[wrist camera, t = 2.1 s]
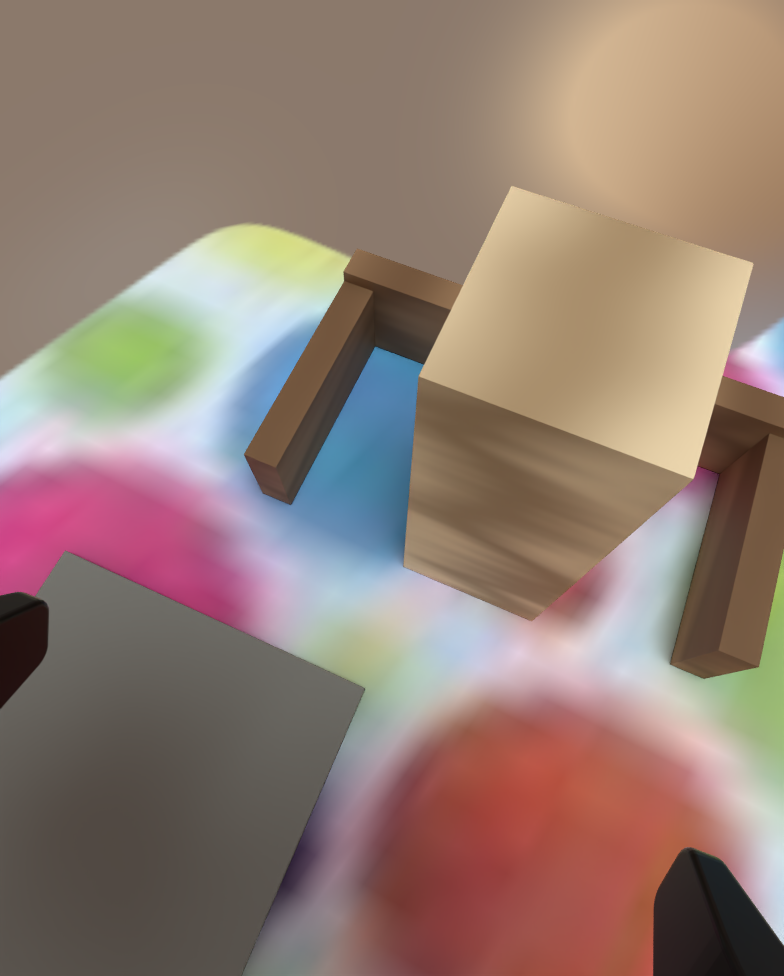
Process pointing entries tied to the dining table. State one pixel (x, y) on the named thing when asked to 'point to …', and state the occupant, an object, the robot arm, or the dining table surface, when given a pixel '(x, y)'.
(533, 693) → the dining table surface
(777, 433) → the nook
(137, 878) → the mat
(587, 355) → the maple block
